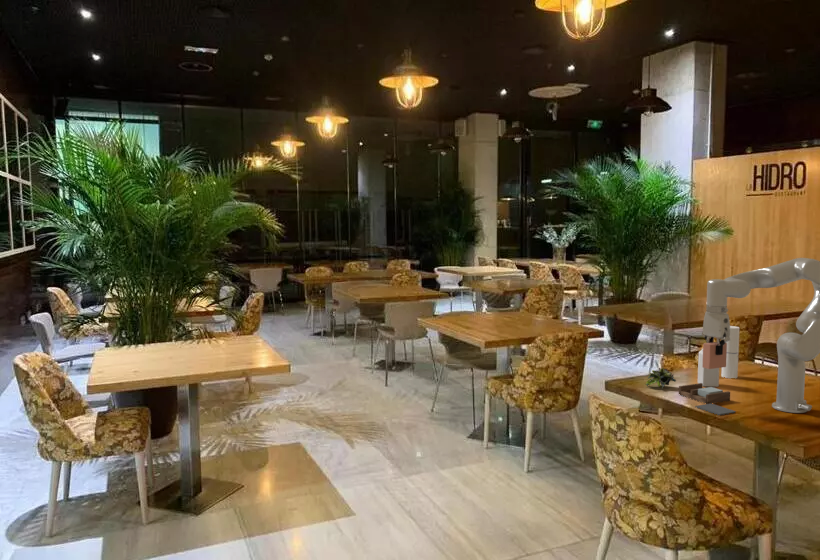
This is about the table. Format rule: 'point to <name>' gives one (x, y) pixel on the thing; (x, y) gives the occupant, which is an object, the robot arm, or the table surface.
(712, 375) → the milk carton
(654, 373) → the passion flower
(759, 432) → the table surface
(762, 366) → the table surface
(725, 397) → the rack
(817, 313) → the robot arm
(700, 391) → the offcut upper
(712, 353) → the pink rectangular block
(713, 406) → the slate mat
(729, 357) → the cylindrical container
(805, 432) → the table surface
